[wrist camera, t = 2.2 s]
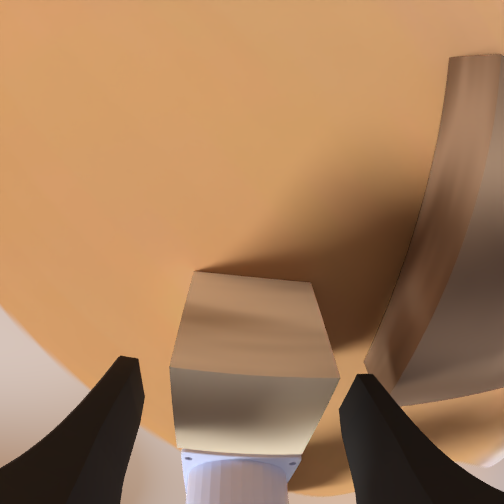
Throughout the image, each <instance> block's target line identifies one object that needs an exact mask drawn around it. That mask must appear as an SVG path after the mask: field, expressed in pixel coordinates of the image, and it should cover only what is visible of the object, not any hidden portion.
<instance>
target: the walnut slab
mask: <svg viewBox="0 0 504 504" xmlns="http://www.w3.org/2000/svg"><path fill="white" fill-rule="evenodd" d="M364 363H365V366H366V369H367V371H368V374H373V375H374V376H375V377H376V378H377V379H378V381H379V382H380V383H381V384H382V385H383V387H384V388H385V389H386V390H387V392H388V393H389V394H390V395H391V397H392V398H393V399H394V400H395V402H396V403H397V404H398V405H399V406H408V405H415V404H423V403H429V402H436V401H442V400H448V399H453V398H459V397H464V396H469V395H473V394H478V393H482V392H487V391H491V390H495V389H499V388H503V387H504V56H503V55H501V54H495V55H475V56H462V57H451V58H449V66H448V75H447V83H446V91H445V98H444V105H443V111H442V117H441V123H440V128H439V134H438V139H437V144H436V149H435V154H434V158H433V163H432V167H431V171H430V176H429V180H428V184H427V188H426V191H425V195H424V199H423V203H422V206H421V210H420V213H419V217H418V220H417V224H416V227H415V230H414V234H413V237H412V240H411V243H410V246H409V249H408V252H407V255H406V258H405V261H404V264H403V267H402V270H401V273H400V275H399V278H398V281H397V284H396V286H395V289H394V292H393V294H392V297H391V299H390V302H389V305H388V307H387V310H386V312H385V314H384V317H383V319H382V322H381V324H380V327H379V329H378V331H377V334H376V336H375V338H374V340H373V343H372V345H371V347H370V349H369V352H368V354H367V356H366V358H365V360H364Z"/></svg>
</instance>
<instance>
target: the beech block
mask: <svg viewBox="0 0 504 504" xmlns="http://www.w3.org/2000/svg"><path fill="white" fill-rule="evenodd" d="M339 380H340V375H339V371H338V368H337V365H336V361H335V358H334V355H333V351H332V348H331V345H330V341H329V338H328V335H327V332H326V328H325V325H324V322H323V319H322V316H321V312H320V309H319V306H318V303H317V300H316V297H315V294H314V291H313V288H312V285H311V282H300V281H289V280H278V279H267V278H257V277H247V276H236V275H227V274H217V273H207V272H198V271H194V273H193V276H192V280H191V284H190V287H189V291H188V295H187V299H186V302H185V306H184V310H183V314H182V318H181V322H180V326H179V330H178V334H177V338H176V342H175V346H174V350H173V354H172V358H171V362H170V381H171V394H172V405H173V415H174V425H175V434H176V442H177V448H184V449H193V450H202V451H212V452H224V453H240V454H270V455H289V454H302V453H303V451H304V449H305V447H306V446H307V444H308V442H309V440H310V438H311V436H312V434H313V433H314V431H315V429H316V427H317V425H318V423H319V421H320V419H321V417H322V415H323V413H324V411H325V409H326V407H327V405H328V403H329V401H330V399H331V397H332V395H333V392H334V390H335V388H336V386H337V384H338V382H339Z"/></svg>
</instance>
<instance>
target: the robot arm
mask: <svg viewBox="0 0 504 504" xmlns="http://www.w3.org/2000/svg"><path fill="white" fill-rule="evenodd" d="M144 398H145V395H144V390H143V384H142V379H141V373H140V367H139V360H138V359H137V358H131V357H125V356H120V357H118V358H117V359H116V361H115V362H114V363H113V365H112V366H111V367H110V368H109V370H108V371H107V372H106V373H105V375H104V376H103V377H102V378H101V380H100V381H99V382H98V383H97V384H96V386H95V387H94V388H93V389H92V390H91V391H90V392H89V394H88V395H87V396H86V397H85V398H84V399H83V400H82V402H81V403H80V404H79V405H78V406H77V407H76V408H75V409H74V410H73V411H72V412H71V413H70V414H69V415H68V416H67V417H66V418H65V419H64V420H63V421H62V422H61V423H60V424H59V425H58V426H57V427H56V428H55V429H54V430H53V431H51V432H50V433H49V434H48V435H47V436H46V437H44V438H43V439H42V440H41V441H39V442H38V443H37V444H36V445H34V446H33V447H32V448H30V449H29V450H28V451H26V452H25V453H24V454H22V455H21V456H19V457H18V458H16V459H14V460H13V461H11V462H10V463H8V464H6V465H5V466H3V467H1V468H0V504H120V500H121V493H122V486H123V481H124V476H125V473H126V470H127V466H128V462H129V459H130V456H131V452H132V449H133V445H134V442H135V439H136V435H137V432H138V428H139V425H140V421H141V415H142V410H143V404H144ZM339 414H340V424H341V432H342V438H343V442H344V446H345V450H346V454H347V458H348V462H349V467H350V471H351V475H352V479H353V483H354V488H355V493H356V503H357V504H504V492H502V491H500V490H498V489H496V488H494V487H491V486H490V485H488V484H486V483H485V482H483V481H481V480H479V479H478V478H476V477H475V476H473V475H471V474H470V473H468V472H467V471H466V470H464V469H463V468H462V467H460V466H459V465H457V464H456V463H455V462H454V461H452V460H451V459H450V458H449V457H448V456H446V455H445V454H444V453H443V452H442V451H441V450H440V449H438V448H437V447H436V446H435V445H434V444H433V443H432V442H431V441H430V440H429V439H428V438H427V437H426V436H425V435H424V434H423V433H422V432H421V431H420V429H419V428H418V427H417V426H416V425H415V424H414V423H413V422H412V421H411V419H410V418H409V417H408V416H407V415H406V414H405V412H404V411H403V410H402V409H401V408H400V406H399V405H398V404H397V403H396V402H395V400H394V399H393V398H392V397H391V395H390V394H389V393H388V392H387V390H386V389H385V388H384V387H383V385H382V384H381V383H380V382H379V381H378V379H377V378H376V377H375V376H374V375H373V374H357V376H356V378H355V380H354V382H353V384H352V385H351V387H350V389H349V391H348V393H347V395H346V397H345V399H344V401H343V403H342V405H341V406H340V408H339ZM181 459H182V466H183V475H184V483H185V490H186V494H187V495H186V504H289V501H288V490H287V483H288V482H289V480H290V478H291V477H292V475H293V473H294V472H295V470H296V468H297V467H298V465H299V463H300V462H301V460H302V458H301V455H300V454H289V455H270V454H240V453H224V452H212V451H202V450H193V449H182V450H181Z"/></svg>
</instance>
